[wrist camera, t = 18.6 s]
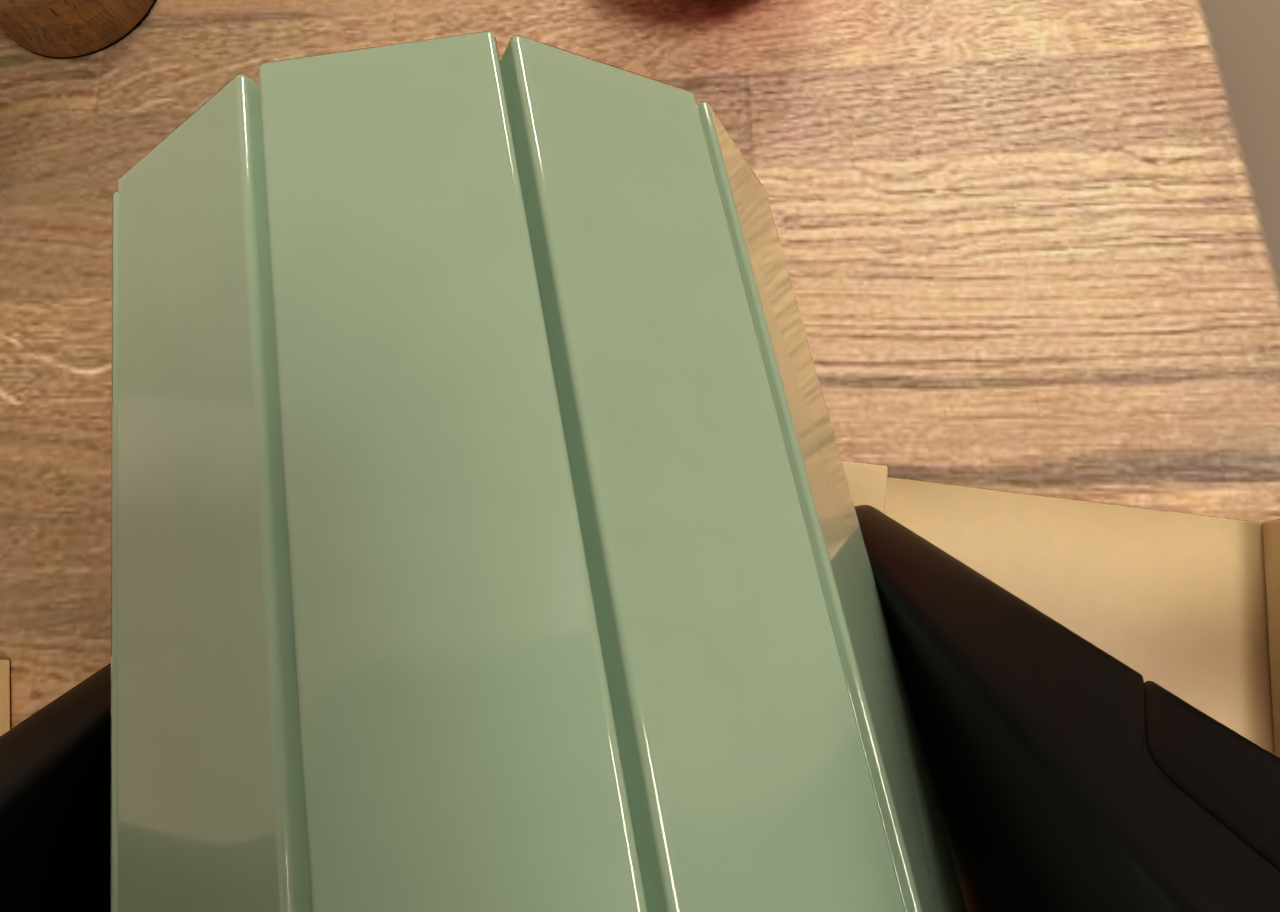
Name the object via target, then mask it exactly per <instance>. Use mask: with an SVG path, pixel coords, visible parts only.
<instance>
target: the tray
mask: <svg viewBox="0 0 1280 912" xmlns="http://www.w3.org/2000/svg"><path fill="white" fill-rule="evenodd" d="M9 730H10V661H9V660H0V736H2V735H3V734H5V733H6V732H8V731H9Z"/></svg>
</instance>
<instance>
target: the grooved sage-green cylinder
mask: <svg viewBox="0 0 1280 912" xmlns="http://www.w3.org/2000/svg"><path fill="white" fill-rule="evenodd" d="M258 71H259V83H258V82H256V81H254V80H253V79H251V78H250V77H248V76H246V75H243V74H239V75H236V76H235V77H234V78H233V79H232V80H231V81H230V82H228V83H227V84H226V85H225V86H224V87H223V88H222V89H220V90H219V91H218V92H217V93H216V94H215V95H214V96H212V97H211V98H210V99H209V100H208V101H207V102H206V103H204V104H203V105H202V106H201V107H200V108H199V109H198V110H196V111H195V112H194V113H193V114H192V115H191V116H190V117H189V118H187V119H186V120H185V121H184V122H183V123H182V124H181V125H179V126H178V127H177V128H176V129H175V130H174V131H173V132H171V133H170V134H169V135H168V136H167V137H166V138H165V139H163V140H162V141H161V142H160V143H159V144H158V145H157V146H155V147H154V148H153V149H152V150H151V151H150V152H149V153H147V154H146V155H145V156H144V157H143V158H142V159H141V160H139V161H138V162H137V163H136V164H135V165H134V166H133V167H132V168H130V169H129V170H128V171H127V172H126V173H125V174H124V175H122V176H121V177H120V179H119V181H118V191H116V192H115V193H114V195H113V197H112V493H111V837H110V912H968V911H967V908H966V904H965V900H964V897H963V893H962V890H961V886H960V883H959V879H958V875H957V872H956V868H955V865H954V861H953V858H952V854H951V850H950V847H949V843H948V840H947V836H946V833H945V829H944V825H943V822H942V818H941V815H940V811H939V808H938V804H937V800H936V797H935V793H934V790H933V786H932V783H931V779H930V775H929V772H928V768H927V765H926V761H925V758H924V754H923V750H922V747H921V743H920V740H919V736H918V733H917V729H916V725H915V722H914V718H913V715H912V711H911V708H910V704H909V700H908V697H907V693H906V690H905V686H904V683H903V679H902V675H901V672H900V668H899V665H898V661H897V658H896V654H895V650H894V647H893V643H892V640H891V636H890V633H889V629H888V625H887V622H886V618H885V615H884V611H883V608H882V604H881V600H880V597H879V593H878V590H877V586H876V583H875V579H874V575H873V572H872V568H871V565H870V561H869V558H868V554H867V550H866V547H865V543H864V540H863V536H862V533H861V529H860V525H859V522H858V518H857V515H856V511H855V508H854V504H853V500H852V497H851V493H850V490H849V486H848V483H847V479H846V475H845V472H844V468H843V465H842V461H841V457H840V454H839V450H838V447H837V443H836V440H835V436H834V432H833V429H832V425H831V422H830V418H829V415H828V411H827V407H826V404H825V400H824V397H823V393H822V390H821V386H820V382H819V379H818V375H817V372H816V368H815V365H814V361H813V357H812V354H811V350H810V347H809V343H808V340H807V336H806V332H805V329H804V325H803V322H802V318H801V315H800V311H799V307H798V304H797V300H796V297H795V293H794V290H793V286H792V282H791V279H790V275H789V272H788V268H787V265H786V261H785V257H784V254H783V250H782V247H781V243H780V240H779V236H778V232H777V229H776V225H775V222H774V218H773V215H772V211H771V207H770V204H769V200H768V197H767V193H766V190H765V188H764V187H763V185H762V184H761V182H760V181H759V179H758V178H757V176H756V175H755V173H754V172H753V170H752V169H751V167H750V166H749V164H748V163H747V161H746V160H745V158H744V157H743V155H742V154H741V152H740V151H739V149H738V148H737V146H736V145H735V143H734V142H733V140H732V139H731V137H730V136H729V134H728V132H727V131H726V129H725V128H724V126H723V125H722V123H721V122H720V120H719V119H718V117H717V116H716V114H715V113H714V111H713V110H712V108H711V107H710V105H709V104H708V103H707V102H706V101H703V102H700V103H698V104H697V102H696V98H695V96H694V94H693V93H692V92H690V91H688V90H685V89H682V88H679V87H676V86H673V85H670V84H667V83H664V82H661V81H658V80H655V79H651V78H648V77H645V76H642V75H639V74H636V73H633V72H630V71H627V70H624V69H621V68H618V67H615V66H612V65H609V64H606V63H603V62H600V61H597V60H594V59H591V58H587V57H584V56H581V55H578V54H575V53H572V52H569V51H566V50H563V49H560V48H557V47H554V46H551V45H548V44H545V43H542V42H539V41H536V40H533V39H530V38H527V37H523V36H520V35H513V36H512V37H511V39H510V41H509V43H508V46H507V48H506V50H505V53H504V55H503V57H502V60H500V55H499V51H498V46H497V42H496V38H495V36H494V35H493V33H492V32H489V31H485V32H477V33H470V34H463V35H456V36H449V37H442V38H435V39H428V40H421V41H414V42H407V43H400V44H393V45H386V46H379V47H372V48H365V49H357V50H350V51H343V52H336V53H329V54H322V55H315V56H308V57H301V58H294V59H287V60H280V61H273V62H266V63H262V64H260V65H259V67H258Z"/></svg>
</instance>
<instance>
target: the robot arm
mask: <svg viewBox="0 0 1280 912" xmlns="http://www.w3.org/2000/svg"><path fill="white" fill-rule="evenodd" d="M854 508H855V511H856V515H857V518H858V522H859V525H860V529H861V533H862V536H863V540H864V543H865V547H866V550H867V554H868V558H869V561H870V565H871V568H872V572H873V575H874V579H875V583H876V586H877V590H878V593H879V597H880V600H881V604H882V608H883V611H884V615H885V618H886V622H887V625H888V629H889V633H890V636H891V640H892V643H893V647H894V650H895V654H896V658H897V661H898V665H899V668H900V672H901V675H902V679H903V683H904V686H905V690H906V693H907V697H908V700H909V704H910V708H911V711H912V715H913V718H914V722H915V725H916V729H917V733H918V736H919V740H920V743H921V747H922V750H923V754H924V758H925V761H926V765H927V768H928V772H929V775H930V779H931V783H932V786H933V790H934V793H935V797H936V800H937V804H938V808H939V811H940V815H941V818H942V822H943V825H944V829H945V833H946V836H947V840H948V843H949V847H950V850H951V854H952V858H953V861H954V865H955V868H956V872H957V875H958V879H959V883H960V886H961V890H962V893H963V897H964V900H965V904H966V908H967V911H968V912H1280V757H1278V756H1276V755H1274V754H1272V753H1271V752H1269V751H1267V750H1265V749H1263V748H1262V747H1260V746H1258V745H1257V744H1255V743H1253V742H1252V741H1250V740H1248V739H1247V738H1245V737H1243V736H1242V735H1240V734H1238V733H1237V732H1235V731H1233V730H1232V729H1230V728H1228V727H1227V726H1225V725H1223V724H1222V723H1220V722H1218V721H1217V720H1215V719H1213V718H1212V717H1210V716H1208V715H1207V714H1205V713H1203V712H1202V711H1200V710H1198V709H1197V708H1195V707H1193V706H1192V705H1190V704H1189V703H1187V702H1185V701H1184V700H1182V699H1181V698H1179V697H1177V696H1176V695H1174V694H1173V693H1171V692H1169V691H1168V690H1166V689H1165V688H1163V687H1161V686H1160V685H1158V684H1157V683H1155V682H1153V681H1150V680H1149V681H1146V682H1144V678H1143V676H1142V675H1141V674H1140V673H1138V672H1137V671H1135V670H1134V669H1132V668H1130V667H1129V666H1127V665H1126V664H1124V663H1122V662H1121V661H1119V660H1118V659H1116V658H1114V657H1113V656H1111V655H1110V654H1108V653H1106V652H1105V651H1103V650H1102V649H1100V648H1098V647H1097V646H1095V645H1094V644H1092V643H1090V642H1089V641H1087V640H1086V639H1084V638H1082V637H1081V636H1079V635H1078V634H1076V633H1074V632H1073V631H1071V630H1070V629H1068V628H1066V627H1065V626H1063V625H1062V624H1060V623H1058V622H1057V621H1055V620H1054V619H1052V618H1050V617H1049V616H1047V615H1046V614H1044V613H1042V612H1041V611H1039V610H1038V609H1036V608H1034V607H1033V606H1031V605H1030V604H1028V603H1026V602H1025V601H1023V600H1022V599H1020V598H1018V597H1017V596H1015V595H1014V594H1012V593H1010V592H1009V591H1007V590H1006V589H1004V588H1002V587H1001V586H999V585H998V584H996V583H994V582H993V581H991V580H990V579H988V578H986V577H985V576H983V575H982V574H980V573H978V572H977V571H975V570H974V569H972V568H970V567H969V566H967V565H966V564H964V563H962V562H961V561H959V560H958V559H956V558H954V557H953V556H951V555H950V554H948V553H946V552H945V551H943V550H942V549H940V548H938V547H937V546H935V545H934V544H932V543H930V542H929V541H927V540H926V539H924V538H922V537H921V536H919V535H918V534H916V533H914V532H913V531H911V530H910V529H908V528H906V527H905V526H903V525H902V524H900V523H898V522H897V521H895V520H894V519H892V518H890V517H889V516H887V515H886V514H884V513H882V512H881V511H879V510H878V509H876V508H874V507H872V506H870V505H859V506H854ZM110 837H111V663H110V664H108V665H107V666H105V667H104V668H102V669H101V670H99V671H98V672H96V673H95V674H93V675H92V676H90V677H89V678H87V679H86V680H84V681H83V682H81V683H80V684H78V685H77V686H75V687H74V688H72V689H71V690H69V691H68V692H66V693H65V694H63V695H62V696H60V697H59V698H57V699H56V700H54V701H53V702H51V703H50V704H48V705H47V706H45V707H44V708H42V709H41V710H39V711H38V712H36V713H35V714H33V715H32V716H30V717H29V718H27V719H26V720H24V721H23V722H21V723H20V724H18V725H17V726H15V727H14V728H12V729H11V730H9V731H8V732H6V733H5V734H3V735H2V736H0V912H110Z"/></svg>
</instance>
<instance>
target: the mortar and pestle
mask: <svg viewBox="0 0 1280 912" xmlns="http://www.w3.org/2000/svg"><path fill="white" fill-rule="evenodd" d="M153 2H154V0H0V28H1V29H2V30H3V31H4V32H5V33H6V34H7V35H9V36H10V37H11V38H12V39H13V40H15V41H16V42H17V43H19V44H20V45H21V46H23V47H25V48H26V49H28V50H30V51H32V52H35V53H37V54H41V55H45V56H51V57H72V56H80V55H85V54H88V53H91V52H94V51H97V50H99V49H102V48H104V47H106V46H108V45H110V44H112V43H114V42H115V41H117V40H119V39H120V38H121V37H123V36H124V35H125V34H127V33H128V32H129V31H130V30H131V29H133V28H134V27H135V26H136V25H137V24H138V23H139V21H140V20H141V19H142V18H143V17H144V16H145V15H146V14H147V12H148V10H149V9H150V7H151V5H152V3H153Z"/></svg>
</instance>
